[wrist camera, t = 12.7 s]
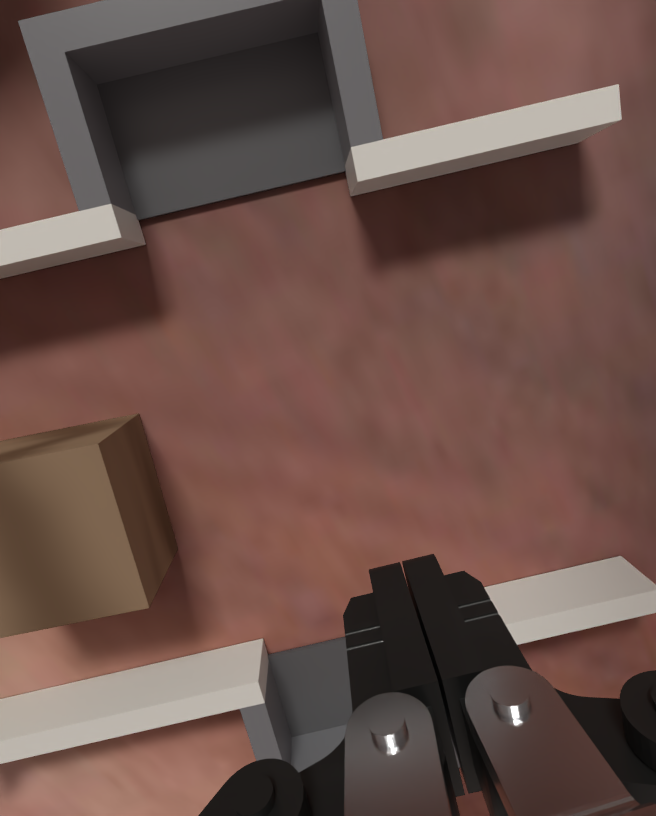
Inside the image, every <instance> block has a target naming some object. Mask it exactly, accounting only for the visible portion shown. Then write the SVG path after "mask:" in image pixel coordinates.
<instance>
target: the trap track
mask: <svg viewBox="0 0 656 816" xmlns="http://www.w3.org/2000/svg"><path fill="white" fill-rule="evenodd" d="M18 23H19V26H20V29H21V32H22V35H23V38H24V42H25V45H26V48H27V51H28V54H29V57H30V60H31V63H32V66H33V69H34V73H35V76H36V79H37V82H38V85H39V88H40V91H41V94H42V97H43V100H44V104H45V107H46V110H47V113H48V116H49V119H50V122H51V125H52V128H53V132H54V135H55V138H56V141H57V144H58V147H59V150H60V153H61V156H62V159H63V163H64V166H65V169H66V172H67V175H68V178H69V181H70V184H71V187H72V190H73V194H74V197H75V200H76V203H77V206H78V209H79V211H78V212H74V213H69V214H65V215H61V216H57V217H52V218H48V219H44V220H40V221H35V222H31V223H27V224H23V225H18V226H14V227H10V228H6V229H2V230H0V279H2V278H6V277H10V276H15V275H19V274H23V273H27V272H32V271H36V270H40V269H44V268H49V267H53V266H57V265H61V264H66V263H70V262H74V261H78V260H83V259H87V258H91V257H95V256H100V255H104V254H108V253H113V252H117V251H121V250H125V249H130V248H134V247H138V246H142V245H146V243H145V240H144V237H143V233H142V230H141V227H140V223H139V220H143V219H147V218H152V217H156V216H160V215H164V214H169V213H173V212H177V211H181V210H186V209H190V208H194V207H198V206H203V205H207V204H211V203H215V202H220V201H224V200H228V199H232V198H237V197H241V196H245V195H249V194H254V193H258V192H262V191H266V190H271V189H275V188H279V187H283V186H288V185H292V184H296V183H300V182H305V181H309V180H313V179H317V178H322V177H326V176H330V175H334V174H339V173H343V172H346V177H347V182H348V187H349V192H350V197H351V196H355V195H359V194H363V193H368V192H372V191H376V190H381V189H385V188H389V187H393V186H398V185H402V184H406V183H410V182H415V181H419V180H423V179H427V178H432V177H436V176H440V175H444V174H449V173H453V172H457V171H461V170H466V169H470V168H474V167H478V166H483V165H487V164H491V163H495V162H500V161H504V160H508V159H512V158H517V157H521V156H525V155H529V154H534V153H538V152H542V151H546V150H551V149H555V148H559V147H563V146H568V145H572V144H576V143H579V142H581V141H583V140H585V139H587V138H589V137H591V136H592V135H594V134H596V133H598V132H600V131H602V130H603V129H605V128H607V127H609V126H611V125H613V124H615V123H616V122H618V121H620V120H622V119H621V107H620V95H619V84H617V85H613V86H609V87H604V88H600V89H596V90H592V91H587V92H583V93H579V94H575V95H570V96H566V97H562V98H558V99H553V100H549V101H545V102H541V103H536V104H532V105H528V106H524V107H520V108H515V109H511V110H507V111H503V112H498V113H494V114H490V115H486V116H481V117H477V118H473V119H469V120H464V121H460V122H456V123H452V124H447V125H443V126H439V127H435V128H430V129H426V130H422V131H418V132H413V133H409V134H405V135H401V136H396V137H392V138H388V139H384V140H383V137H382V132H381V126H380V121H379V115H378V110H377V105H376V99H375V94H374V88H373V83H372V78H371V72H370V67H369V61H368V56H367V50H366V45H365V40H364V34H363V29H362V23H361V18H360V13H359V7H358V2H357V0H104V1H99V2H95V3H91V4H87V5H83V6H78V7H74V8H70V9H66V10H62V11H57V12H53V13H49V14H45V15H40V16H36V17H32V18H28V19H24V20H19V21H18ZM484 588H485V590H486V592H487V594H488V595H489V597H490V600H491V601H492V602H493V604H494V606H495V608H496V609H497V611H498V614H499V615H500V616H501V618H502V620H503V621H504V623H505V625H506V627H507V628H508V630H509V632H510V634H511V635H512V637H513V639H514V641H515V642H516V644H517V645H518V644H523V643H527V642H531V641H536V640H540V639H544V638H549V637H553V636H557V635H562V634H566V633H570V632H575V631H579V630H583V629H588V628H592V627H596V626H601V625H605V624H609V623H614V622H618V621H622V620H627V619H631V618H635V617H640V616H644V615H648V614H653V613H656V585H655V584H654V583H653V582H652V581H651V580H649V579H648V578H647V577H646V576H644V575H643V574H642V573H641V572H640V571H638V570H637V569H636V568H635V567H634V566H632V565H631V564H630V563H629V562H628V561H626V560H625V559H624V558H623V557H622V556H618V557H613V558H609V559H605V560H600V561H596V562H592V563H587V564H583V565H579V566H574V567H570V568H566V569H561V570H557V571H553V572H548V573H544V574H540V575H535V576H531V577H527V578H522V579H518V580H514V581H509V582H505V583H501V584H497V585H492V586H488V587H484ZM236 709H240V711H241V714H242V718H243V721H244V724H245V727H246V730H247V733H248V736H249V739H250V742H251V745H252V749H253V752H254V755H255V758H256V761H258V760H262V759H271V758H275V759H280V760H283V761H286V762H288V763H289V764H291V765H292V766H293V767H294V768H295V769H296V770H297V771H298V773H299V772H301V771H302V770H304V769H306V768H307V767H309V766H311V765H313V764H314V763H316V762H318V761H320V760H321V759H323V758H324V757H326V756H327V755H329V754H330V753H331V752H332V751H333V750H334V749H335V748H336V747H337V746H338V745H339V744H340V743H341V741H342V740H343V739H344V737H345V731H346V726H347V723H348V720H349V718H350V716H351V715H352V700H351V690H350V680H349V669H348V659H347V648H346V638H345V637H342V638H338V639H333V640H329V641H325V642H320V643H316V644H312V645H307V646H303V647H299V648H294V649H290V650H286V651H281V652H277V653H273V654H268V653H267V650H266V646H265V643H264V640H263V639H259V640H254V641H250V642H246V643H241V644H237V645H233V646H228V647H224V648H220V649H215V650H211V651H207V652H202V653H198V654H194V655H189V656H185V657H181V658H176V659H172V660H168V661H163V662H159V663H155V664H150V665H146V666H142V667H137V668H133V669H129V670H125V671H120V672H116V673H112V674H107V675H103V676H99V677H94V678H90V679H86V680H81V681H77V682H73V683H68V684H64V685H60V686H55V687H51V688H47V689H42V690H38V691H34V692H29V693H25V694H21V695H16V696H12V697H8V698H3V699H0V764H2V763H7V762H11V761H15V760H20V759H24V758H28V757H33V756H37V755H41V754H46V753H50V752H54V751H59V750H63V749H67V748H72V747H76V746H80V745H85V744H89V743H93V742H98V741H102V740H106V739H111V738H115V737H119V736H124V735H128V734H132V733H137V732H141V731H145V730H150V729H154V728H158V727H163V726H167V725H171V724H176V723H180V722H184V721H189V720H193V719H197V718H202V717H206V716H210V715H215V714H219V713H223V712H228V711H232V710H236ZM453 747H454V745H453ZM454 751H455V748H454ZM455 755H456V759H457V764H458V768H460V764H459V761H458V758H457V754H456V751H455Z"/></svg>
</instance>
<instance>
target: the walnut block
mask: <svg viewBox="0 0 656 816" xmlns="http://www.w3.org/2000/svg"><path fill="white" fill-rule="evenodd" d="M177 550H178V547H177V543H176V540H175V536H174V533H173V529H172V526H171V522H170V519H169V515H168V512H167V509H166V505H165V502H164V498H163V495H162V491H161V488H160V484H159V481H158V477H157V474H156V470H155V467H154V464H153V460H152V457H151V453H150V450H149V446H148V443H147V439H146V436H145V432H144V429H143V425H142V422H141V418H140V415H139V413H138V414H133V415H128V416H123V417H118V418H113V419H108V420H103V421H98V422H93V423H88V424H83V425H78V426H73V427H68V428H63V429H58V430H53V431H48V432H43V433H38V434H33V435H28V436H23V437H18V438H13V439H8V440H3V441H0V638H3V637H8V636H13V635H18V634H23V633H28V632H33V631H38V630H43V629H48V628H53V627H58V626H62V625H67V624H72V623H77V622H82V621H87V620H92V619H97V618H102V617H107V616H112V615H117V614H122V613H127V612H132V611H137V610H142V609H147V608H149V607H150V605H151V603H152V601H153V599H154V597H155V595H156V593H157V591H158V589H159V587H160V585H161V583H162V581H163V579H164V577H165V574H166V572H167V570H168V568H169V566H170V564H171V562H172V560H173V558H174V556H175V554H176V552H177Z"/></svg>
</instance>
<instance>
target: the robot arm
mask: <svg viewBox="0 0 656 816" xmlns="http://www.w3.org/2000/svg"><path fill="white" fill-rule="evenodd" d="M402 563H403V568H404V572H405V576H406V580H405V577H404V574H403V570H402V567H401V564H400V562H398V563H394V564H390V565H386V566H382V567H378V568H373V569H369V574H370V579H371V584H372V589H373V593H370V594H366V595H361V596H357V597H353V598H351V599H350V601H349V604H348V606H347V608H346V610H345V612H344V615H343V618H344V628H345V635H346V636H345V638H346V648H347V659H348V669H349V680H350V690H351V700H352V715H351V716H350V718H349V720H348V723H347V726H346V731H345V737H344V739H343V740H342V741H341V743H340V744H339V745H338V746H337V747H336V748H335V749H334V750H333V751H332V752H331V753H330V754H329V755H327V756H326V757H324V758H323V759H321V760H320V761H318V762H316V763H314V764H313V765H311V766H309V767H307V768H306V769H304V770H302V771H301V772H299V773H298V771H297V770H296V769H295V768H294V767H293V766H292V765H291V764H289V763H288V762H286V761H283V760H280V759H275V758H271V759H262V760H258V761H255V762H252V763H250V764H248V765H246V766H244V767H243V768H241V769H240V770H238V771H237V772H236V773H235V774H234V775H232V776H231V777H230V778H229V779H228V780H227V782H226V783H225V784H224V785H223V786H222V787H221V789H220V790H219V791H218V792H217V794H216V795H215V796H214V797H213V798H212V800H211V801H210V802H209V803H208V805H207V806H206V807H205V808H204V809H203V811H202V812H201V813H200V814H199V816H460V814H459V810H458V806H457V802H456V797H457V796H462V795H465V793H464V789H463V785H462V781H461V776H460V772H459V768H458V764H457V759H456V755H455V751H456V754H457V758H458V761H459V764H460V767H461V771H462V774H463V777H464V780H465V783H466V787H467V790H468V793H473V792H478V791H482V793H483V796H484V798H485V801H486V804H487V807H488V810H489V813H490V816H656V670H655V671H647V672H643V673H640V674H637V675H635V676H633V677H632V678H630V679H629V680H628V681H627V682H626V683H625V684H624V685H623V687H622V690H621V693H620V699H612V698H592V697H581V696H575V695H571V694H567V693H564V692H561V691H559V690H557V689H555V688H553V686H552V685H551V684H550V683H549V682H548V681H547V680H546V679H545V678H544V677H542V676H541V675H539V674H538V673H536V672H534V671H532V670H531V668H530V667H529V665H528V663H527V661H526V660H525V658H524V656H523V654H522V653H521V651H520V649H519V648H518V646H517V644H516V642H515V641H514V639H513V637H512V635H511V634H510V632H509V630H508V628H507V627H506V625H505V623H504V621H503V620H502V618H501V616H500V615H499V614H498V611H497V609H496V608H495V606H494V604H493V602H492V601H491V600H490V597H489V595H488V594H487V592H486V590H485V588H484V587H483V585H482V583H481V582H480V581H478V580H477V579H475V578H474V577H472V576H471V575H469V574H468V573H466V572H465V571H461V572H456V573H452V574H448V575H443V572H442V570H441V568H440V566H439V564H438V562H437V559H436V557H435V555H434V554H431V555H427V556H422V557H418V558H414V559H410V560H406V561H402ZM406 581H407V583H406ZM407 585H408V586H407ZM453 745H454V747H453ZM454 748H455V751H454Z"/></svg>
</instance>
